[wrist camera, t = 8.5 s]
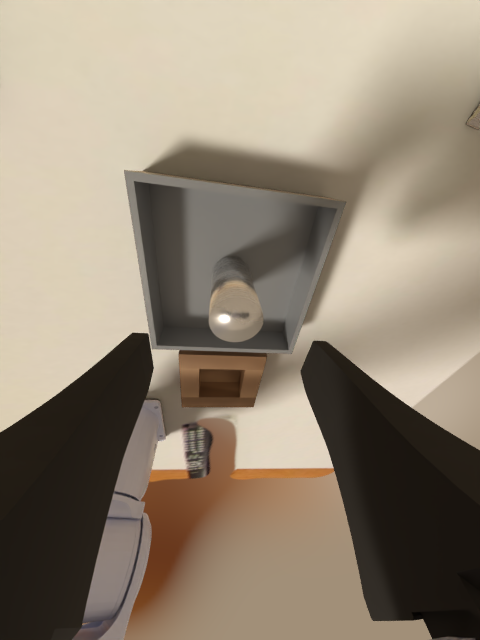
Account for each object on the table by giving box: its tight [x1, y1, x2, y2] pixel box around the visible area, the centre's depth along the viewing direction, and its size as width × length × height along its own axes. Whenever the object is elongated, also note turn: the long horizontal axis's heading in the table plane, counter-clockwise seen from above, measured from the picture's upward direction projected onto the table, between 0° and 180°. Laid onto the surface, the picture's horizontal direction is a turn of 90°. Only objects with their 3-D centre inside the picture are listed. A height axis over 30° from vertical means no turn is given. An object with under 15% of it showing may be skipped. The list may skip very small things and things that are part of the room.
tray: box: [124, 170, 346, 354], centre depth 16 cm, size 12×12×3 cm
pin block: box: [179, 350, 267, 407], centre depth 22 cm, size 8×8×2 cm
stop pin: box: [209, 256, 264, 342], centre depth 14 cm, size 3×3×6 cm
